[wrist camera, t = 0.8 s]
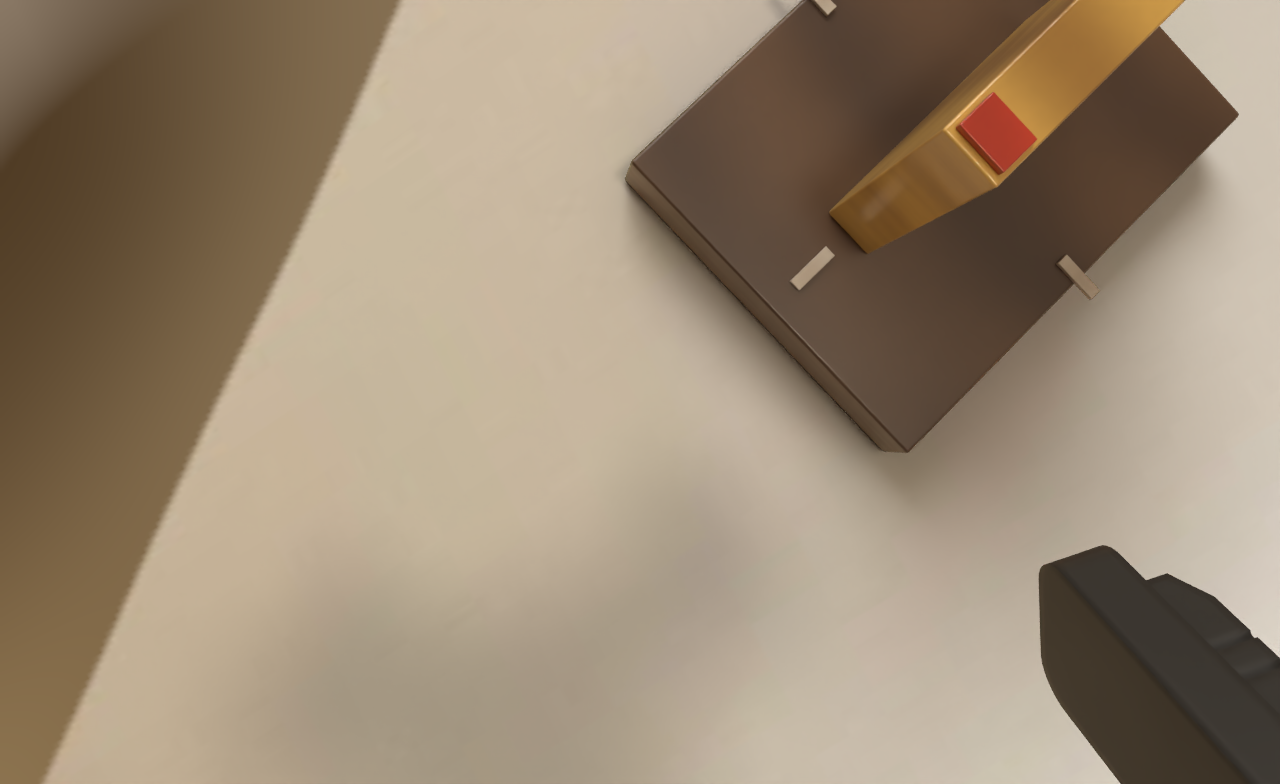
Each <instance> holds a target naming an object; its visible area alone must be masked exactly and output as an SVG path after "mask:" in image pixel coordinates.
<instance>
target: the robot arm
mask: <svg viewBox="0 0 1280 784" xmlns="http://www.w3.org/2000/svg"><path fill="white" fill-rule="evenodd" d="M1039 605H1040V639H1041V658H1042V664H1043V667H1044V671H1045V674H1046V677H1047V679H1048V682H1049V684H1050V687H1051V689H1052V691H1053V693H1054V695H1055V696H1056V698H1057V700H1058V701H1059V703H1060V705H1061V706H1062V708H1063V709H1064V710H1065V712H1066V713H1067V714H1068V716H1069V717H1070V718H1071V720H1072V721H1073V722H1074V723H1075V725H1076V726H1077V727H1078V729H1079V730H1080V731H1081V733H1082V734H1083V735H1084V736H1085V738H1086V739H1087V740H1088V742H1089V743H1090V744H1091V746H1092V747H1093V748H1094V750H1095V751H1096V752H1097V753H1098V755H1099V756H1100V757H1101V759H1102V760H1103V761H1104V763H1105V764H1106V765H1107V766H1108V768H1109V769H1110V770H1111V772H1112V773H1113V774H1114V776H1115V777H1116V778H1117V780H1118V781H1119V782H1120V783H1121V784H1280V658H1279V657H1278V656H1277V655H1276V654H1275V653H1274V652H1273V651H1272V650H1271V649H1270V648H1268V647H1267V646H1266V645H1265V644H1264V643H1263V642H1262V641H1261V640H1260V639H1259V638H1258V637H1257V638H1254V637H1253V636H1252V635H1251V632H1250V630H1249V629H1248V628H1247V627H1246V626H1245V625H1244V624H1243V623H1242V622H1241V621H1240V620H1239V619H1238V618H1236V617H1235V616H1234V615H1233V614H1232V613H1231V612H1230V611H1229V610H1228V609H1227V608H1226V607H1225V606H1224V605H1223V604H1222V603H1221V602H1219V601H1218V600H1217V599H1216V598H1215V597H1214V596H1212V595H1210V594H1208V593H1206V592H1204V591H1202V590H1199V589H1197V588H1195V587H1193V586H1191V585H1189V584H1187V583H1185V582H1183V581H1181V580H1179V579H1177V578H1175V577H1173V576H1171V575H1169V574H1164V575H1161V576H1158V577H1155V578H1152V579H1149V580H1145V579H1144V578H1143V577H1142V576H1141V575H1140V574H1139V573H1138V572H1137V571H1136V570H1135V569H1134V568H1133V567H1132V566H1131V565H1130V564H1129V563H1128V562H1127V561H1126V560H1125V559H1124V558H1123V557H1122V556H1121V555H1120V554H1119V553H1118V552H1117V551H1115V550H1114V549H1112V548H1111V547H1108V546H1104V545H1102V546H1098V547H1095V548H1092V549H1090V550H1087V551H1084V552H1081V553H1078V554H1075V555H1072V556H1069V557H1066V558H1063V559H1060V560H1057V561H1054V562H1051V563H1048V564H1046V565H1043V566H1042V567H1041V569H1040V572H1039Z"/></svg>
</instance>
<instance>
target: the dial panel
mask: <svg viewBox="0 0 1280 784" xmlns="http://www.w3.org/2000/svg"><path fill="white" fill-rule="evenodd" d="M1049 1H1050V0H802V1H801V2H800V3H799V4H798V5H797V6H796V7H795V8H794V9H793V10H791V11H790V12H789V13H788V14H787V15H786V16H785V17H784V18H783V19H782V20H781V21H780V22H779V23H778V24H777V25H776V26H774V27H773V28H772V29H771V30H770V31H769V32H768V33H767V34H766V35H765V36H764V37H763V38H762V39H761V40H760V41H758V42H757V43H756V44H755V45H754V46H753V47H752V48H751V49H750V50H749V51H748V52H747V53H746V54H745V55H744V56H743V57H741V58H740V59H739V60H738V61H737V62H736V63H735V64H734V65H733V66H732V67H731V68H730V69H729V70H728V71H727V72H725V73H724V74H723V75H722V76H721V77H720V78H719V79H718V80H717V81H716V82H715V83H714V84H713V85H712V86H711V87H710V88H708V89H707V90H706V91H705V92H704V93H703V94H702V95H701V96H700V97H699V98H698V99H697V100H696V101H695V102H694V103H692V104H691V105H690V106H689V107H688V108H687V109H686V110H685V111H684V112H683V113H682V114H681V115H680V116H679V117H678V118H677V119H675V120H674V121H673V122H672V123H671V124H670V125H669V126H668V127H667V128H666V129H665V130H664V131H663V132H662V133H661V134H659V135H658V136H657V137H656V138H655V139H654V140H653V141H652V142H651V143H650V144H649V145H648V146H647V147H646V148H645V149H644V150H642V151H641V152H640V153H639V154H638V155H637V156H636V157H635V158H634V159H633V160H632V162H631V164H630V167H629V169H628V172H627V174H626V177H625V180H626V182H627V183H628V184H629V185H630V186H631V187H632V188H633V189H634V190H635V191H636V192H637V193H638V194H639V195H640V196H641V197H642V198H643V199H644V201H645V202H646V203H647V204H648V205H649V206H650V207H651V208H652V209H653V210H654V211H655V212H656V213H657V214H658V215H659V216H660V217H661V218H662V219H663V221H664V222H665V223H666V224H667V225H668V226H669V227H670V228H671V229H672V230H673V231H674V232H675V233H676V234H677V235H678V236H679V237H680V238H681V239H682V240H683V242H684V243H685V244H686V245H687V246H688V247H689V248H690V249H691V250H692V251H693V252H694V253H695V254H696V255H697V256H698V257H699V258H700V259H701V260H702V262H703V263H704V264H705V265H706V266H707V267H708V268H709V269H710V270H711V271H712V272H713V273H714V274H715V275H716V276H717V277H718V278H719V279H720V280H721V281H722V283H723V284H724V285H725V286H726V287H727V288H728V289H729V290H730V291H731V292H732V293H733V294H734V295H735V296H736V297H737V298H738V299H739V300H740V301H741V303H742V304H743V305H744V306H745V307H746V308H747V309H748V310H749V311H750V312H751V313H752V314H753V315H754V316H755V317H756V318H757V319H758V320H759V321H760V322H761V324H762V325H763V326H764V327H765V328H766V329H767V330H768V331H769V332H770V333H771V334H772V335H773V336H774V337H775V338H776V339H777V340H778V341H779V342H780V344H781V345H782V346H783V347H784V348H785V349H786V350H787V351H788V352H789V353H790V354H791V355H792V356H793V357H794V358H795V359H796V360H797V361H798V362H799V363H800V365H801V366H802V367H803V368H804V369H805V370H806V371H807V372H808V373H809V374H810V375H811V376H812V377H813V378H814V379H815V380H816V381H817V382H818V383H819V385H820V386H821V387H822V388H823V389H824V390H825V391H826V392H827V393H828V394H829V395H830V396H831V397H832V398H833V399H834V400H835V401H836V402H837V403H838V405H839V406H840V407H841V408H842V409H843V410H844V411H845V412H846V413H847V414H848V415H849V416H850V417H851V418H852V419H853V420H854V421H855V422H856V423H857V424H858V426H859V427H860V428H861V429H862V430H863V431H864V432H865V433H866V434H867V435H868V436H869V437H870V438H871V439H872V440H873V441H874V442H875V443H876V444H877V446H878V447H879V448H880V449H881V450H882V451H885V452H902V453H907V452H909V451H910V450H911V449H912V448H913V447H914V446H915V445H916V444H917V443H918V442H919V441H920V440H921V439H922V438H923V437H924V436H925V435H926V434H927V433H928V432H929V431H930V430H931V429H932V428H933V427H934V426H935V425H936V424H937V423H938V422H939V421H940V420H941V419H942V418H943V417H944V416H945V415H946V414H947V413H948V412H949V411H950V410H951V409H952V408H953V407H954V406H955V405H956V404H957V402H958V401H959V400H960V399H961V398H962V397H963V396H964V395H965V394H966V393H967V392H968V391H969V390H970V389H971V388H972V387H973V386H974V385H975V384H976V383H977V382H978V381H979V380H980V379H981V378H982V377H983V376H984V375H985V374H986V373H987V372H988V371H989V370H990V369H991V368H992V367H993V366H994V365H995V364H996V363H997V362H998V361H999V360H1000V359H1001V358H1002V357H1003V356H1004V355H1005V354H1006V353H1007V352H1008V351H1009V350H1010V348H1011V347H1012V346H1013V345H1014V344H1015V343H1016V342H1017V341H1018V340H1019V339H1020V338H1021V337H1022V336H1023V335H1024V334H1025V333H1026V332H1027V331H1028V330H1029V329H1030V328H1031V327H1032V326H1033V325H1034V324H1035V323H1036V322H1037V321H1038V320H1039V319H1040V318H1041V317H1042V316H1043V315H1044V314H1045V313H1046V312H1047V311H1048V310H1049V309H1050V308H1051V307H1052V306H1053V305H1054V304H1055V303H1056V302H1057V301H1058V300H1059V299H1060V298H1061V297H1062V296H1063V295H1064V293H1065V292H1066V291H1067V290H1068V289H1069V288H1070V287H1071V286H1072V285H1073V284H1075V285H1076V286H1077V287H1078V288H1079V289H1080V290H1081V291H1082V293H1083V294H1084V295H1085V296H1086V297H1087V298H1088V299H1089V300H1090V299H1092V298H1093V297H1094V296H1095V295H1096V294H1097V293H1098V292H1099V291H1100V290H1099V289H1098V288H1097V286H1096V285H1095V284H1094V283H1093V282H1092V281H1091V280H1090V279H1089V278H1088V277H1087V276H1086V275H1085V274H1084V273H1085V272H1086V271H1087V270H1088V269H1089V268H1090V267H1091V266H1092V265H1093V264H1094V263H1095V262H1096V261H1097V260H1098V259H1099V258H1100V257H1101V256H1102V255H1103V254H1104V253H1105V252H1106V251H1107V250H1108V249H1109V248H1110V247H1111V246H1112V245H1113V244H1114V243H1115V242H1116V241H1117V239H1118V238H1119V237H1120V236H1121V235H1122V234H1123V233H1124V232H1125V231H1126V230H1127V229H1128V228H1129V227H1130V226H1131V225H1132V224H1133V223H1134V222H1135V221H1136V220H1137V219H1138V218H1139V217H1140V216H1141V215H1142V214H1143V213H1144V212H1145V211H1146V210H1147V209H1148V208H1149V207H1150V206H1151V205H1152V204H1153V203H1154V202H1155V201H1156V200H1157V199H1158V198H1159V197H1160V196H1161V195H1162V194H1163V193H1164V192H1165V191H1166V190H1167V189H1168V188H1169V187H1170V185H1171V184H1172V183H1173V182H1174V181H1175V180H1176V179H1177V178H1178V177H1179V176H1180V175H1181V174H1182V173H1183V172H1184V171H1185V170H1186V169H1187V168H1188V167H1189V166H1190V165H1191V164H1192V163H1193V162H1194V161H1195V160H1196V159H1197V158H1198V157H1199V156H1200V155H1201V154H1202V153H1203V152H1204V151H1205V150H1206V149H1207V148H1208V147H1209V146H1210V145H1211V144H1212V143H1213V142H1214V141H1215V140H1216V139H1217V138H1218V137H1219V136H1220V135H1221V134H1222V133H1223V132H1224V130H1225V129H1226V128H1227V127H1228V126H1229V125H1230V124H1231V123H1232V122H1233V121H1234V120H1235V119H1236V118H1237V117H1238V115H1239V114H1238V112H1237V111H1236V110H1235V109H1234V108H1233V107H1232V106H1231V104H1230V103H1229V102H1228V101H1227V100H1226V99H1225V98H1224V97H1223V96H1222V95H1221V93H1220V92H1219V91H1218V90H1217V89H1216V88H1215V87H1214V86H1213V85H1212V84H1211V82H1210V81H1209V80H1208V79H1207V78H1206V77H1205V76H1204V75H1203V74H1202V73H1201V71H1200V70H1199V69H1198V68H1197V67H1196V66H1195V65H1194V64H1193V63H1192V62H1191V60H1190V59H1189V58H1188V57H1187V56H1186V55H1185V54H1184V53H1183V52H1182V51H1181V49H1180V48H1179V47H1178V46H1177V45H1176V44H1175V43H1174V42H1173V41H1172V40H1171V38H1170V37H1169V36H1168V35H1167V34H1166V33H1165V32H1164V31H1163V30H1162V29H1161V27H1160V26H1159V27H1158V28H1157V29H1156V30H1155V31H1154V32H1153V33H1152V34H1151V35H1150V36H1149V37H1148V38H1147V39H1146V40H1145V41H1144V42H1143V43H1142V44H1141V45H1140V46H1139V47H1138V48H1137V49H1136V50H1135V51H1134V52H1133V53H1132V54H1131V55H1130V56H1129V57H1128V58H1127V59H1126V60H1125V61H1124V62H1123V63H1122V64H1121V65H1120V66H1119V67H1118V68H1117V69H1116V70H1115V71H1114V72H1113V73H1112V74H1111V75H1110V76H1109V77H1108V78H1107V79H1106V80H1105V81H1104V82H1103V83H1102V84H1101V85H1100V86H1099V87H1098V88H1097V89H1096V90H1095V91H1094V92H1093V93H1092V94H1091V95H1090V96H1089V97H1088V98H1087V99H1086V100H1085V101H1083V102H1082V103H1081V104H1080V105H1079V106H1078V107H1077V108H1076V109H1075V110H1074V111H1073V112H1072V113H1071V114H1070V115H1069V116H1068V117H1067V118H1066V119H1065V120H1064V121H1063V122H1062V123H1061V124H1060V125H1059V126H1058V127H1057V128H1056V129H1055V130H1054V131H1053V132H1052V133H1051V134H1050V135H1049V136H1048V137H1047V138H1046V139H1045V140H1044V141H1043V142H1042V143H1041V144H1040V145H1039V146H1038V147H1037V148H1036V149H1035V150H1034V151H1033V152H1032V153H1031V154H1030V155H1029V156H1028V157H1027V158H1026V159H1025V160H1024V161H1023V162H1022V163H1021V164H1020V165H1019V166H1018V167H1017V168H1016V169H1015V170H1014V171H1013V172H1012V173H1011V174H1010V175H1009V176H1008V177H1007V178H1006V179H1005V180H1004V181H1003V182H1002V183H1001V184H1000V185H999V186H998V187H996V188H994V189H992V190H990V191H988V192H986V193H985V194H983V195H981V196H979V197H977V198H975V199H973V200H971V201H969V202H967V203H965V204H963V205H961V206H960V207H958V208H956V209H954V210H952V211H950V212H948V213H946V214H944V215H942V216H940V217H938V218H936V219H934V220H933V221H931V222H929V223H927V224H925V225H923V226H921V227H919V228H917V229H915V230H913V231H911V232H909V233H908V234H906V235H904V236H902V237H900V238H898V239H896V240H894V241H892V242H890V243H888V244H886V245H884V246H882V247H881V248H879V249H877V250H875V251H873V252H871V253H869V254H867V253H866V252H865V251H864V250H863V249H862V248H861V247H860V246H859V245H858V244H857V243H856V241H855V240H854V239H853V238H852V237H851V236H850V235H849V234H848V233H847V232H846V231H845V230H844V229H843V228H842V227H841V226H840V224H839V223H838V222H837V221H836V220H835V219H834V218H833V217H832V216H831V215H830V213H829V211H830V210H831V209H832V208H833V207H834V206H835V205H836V204H837V203H838V202H839V201H840V200H841V199H842V198H843V197H844V196H845V195H846V194H847V193H848V192H850V191H851V190H852V189H853V188H854V187H855V186H856V185H857V184H858V183H859V182H860V181H861V180H862V179H863V178H864V177H865V176H866V175H867V174H868V173H869V172H870V171H871V170H872V169H873V168H874V167H875V166H876V165H877V164H878V163H879V162H880V161H881V160H882V159H883V158H884V157H885V156H887V155H888V154H889V153H890V152H891V151H892V150H893V149H894V148H895V147H896V146H897V145H898V144H899V143H900V142H901V141H902V140H903V139H904V138H905V137H906V136H907V135H908V134H909V133H910V132H911V131H912V130H913V129H914V128H915V127H916V126H917V125H918V124H919V123H920V122H921V121H922V120H924V119H925V118H926V117H927V116H928V115H929V114H930V113H931V112H932V111H933V110H934V109H935V108H936V107H937V106H938V105H939V104H940V103H941V102H942V101H943V100H944V99H945V98H946V97H947V96H948V95H949V94H950V93H951V92H952V91H953V90H954V89H955V88H956V87H957V86H958V85H959V84H961V83H962V82H963V81H964V80H965V79H966V78H967V77H968V76H969V75H970V74H971V73H972V72H973V71H974V70H975V69H976V68H977V67H978V66H979V65H980V64H981V63H982V62H983V61H984V60H985V59H986V58H987V57H988V56H989V55H990V54H991V53H992V52H993V51H994V50H995V49H996V48H998V47H999V46H1000V45H1001V44H1002V43H1003V42H1004V41H1005V40H1006V39H1007V38H1008V37H1009V36H1010V35H1011V34H1012V33H1013V32H1014V31H1015V30H1016V29H1017V28H1018V27H1019V26H1020V25H1021V24H1022V23H1023V22H1024V21H1025V20H1027V19H1028V18H1029V17H1030V16H1032V15H1033V14H1034V13H1035V12H1036V11H1038V10H1039V9H1040V8H1041V7H1042V6H1044V5H1045V4H1046V3H1047V2H1049Z"/></svg>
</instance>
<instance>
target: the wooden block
mask: <svg viewBox="0 0 1280 784" xmlns="http://www.w3.org/2000/svg"><path fill="white" fill-rule="evenodd" d="M1184 1H1185V0H1050V1H1049V2H1047V3H1046V4H1045V5H1044V6H1042V7H1041V8H1040V9H1039V10H1038V11H1036V12H1035V13H1034V14H1033V15H1032V16H1030V17H1029V18H1028V19H1027V20H1025V21H1024V22H1023V23H1022V24H1021V25H1020V26H1019V27H1018V28H1017V29H1016V30H1015V31H1014V32H1013V33H1012V34H1011V35H1010V36H1009V37H1008V38H1007V39H1006V40H1005V41H1004V42H1003V43H1002V44H1001V45H1000V46H999V47H998V48H996V49H995V50H994V51H993V52H992V53H991V54H990V55H989V56H988V57H987V58H986V59H985V60H984V61H983V62H982V63H981V64H980V65H979V66H978V67H977V68H976V69H975V70H974V71H973V72H972V73H971V74H970V75H969V76H968V77H967V78H966V79H965V80H964V81H963V82H962V83H961V84H959V85H958V86H957V87H956V88H955V89H954V90H953V91H952V92H951V93H950V94H949V95H948V96H947V97H946V98H945V99H944V100H943V101H942V102H941V103H940V104H939V105H938V106H937V107H936V108H935V109H934V110H933V111H932V112H931V113H930V114H929V115H928V116H927V117H926V118H925V119H924V120H922V121H921V122H920V123H919V124H918V125H917V126H916V127H915V128H914V129H913V130H912V131H911V132H910V133H909V134H908V135H907V136H906V137H905V138H904V139H903V140H902V141H901V142H900V143H899V144H898V145H897V146H896V147H895V148H894V149H893V150H892V151H891V152H890V153H889V154H888V155H887V156H885V157H884V158H883V159H882V160H881V161H880V162H879V163H878V164H877V165H876V166H875V167H874V168H873V169H872V170H871V171H870V172H869V173H868V174H867V175H866V176H865V177H864V178H863V179H862V180H861V181H860V182H859V183H858V184H857V185H856V186H855V187H854V188H853V189H852V190H851V191H850V192H848V193H847V194H846V195H845V196H844V197H843V198H842V199H841V200H840V201H839V202H838V203H837V204H836V205H835V206H834V207H833V208H832V209H831V210H830V211H829V213H830V215H831V216H832V217H833V218H834V219H835V220H836V221H837V222H838V223H839V224H840V226H841V227H842V228H843V229H844V230H845V231H846V232H847V233H848V234H849V235H850V236H851V237H852V238H853V239H854V240H855V241H856V243H857V244H858V245H859V246H860V247H861V248H862V249H863V250H864V251H865V252H866V253H867V254H869V253H871V252H873V251H875V250H877V249H879V248H881V247H882V246H884V245H886V244H888V243H890V242H892V241H894V240H896V239H898V238H900V237H902V236H904V235H906V234H908V233H909V232H911V231H913V230H915V229H917V228H919V227H921V226H923V225H925V224H927V223H929V222H931V221H933V220H934V219H936V218H938V217H940V216H942V215H944V214H946V213H948V212H950V211H952V210H954V209H956V208H958V207H960V206H961V205H963V204H965V203H967V202H969V201H971V200H973V199H975V198H977V197H979V196H981V195H983V194H985V193H986V192H988V191H990V190H992V189H994V188H996V187H998V186H999V185H1000V184H1001V183H1002V182H1003V181H1004V180H1005V179H1006V178H1007V177H1008V176H1009V175H1010V174H1011V173H1012V172H1013V171H1014V170H1015V169H1016V168H1017V167H1018V166H1019V165H1020V164H1021V163H1022V162H1023V161H1024V160H1025V159H1026V158H1027V157H1028V156H1029V155H1030V154H1031V153H1032V152H1033V151H1034V150H1035V149H1036V148H1037V147H1038V146H1039V145H1040V144H1041V143H1042V142H1043V141H1044V140H1045V139H1046V138H1047V137H1048V136H1049V135H1050V134H1051V133H1052V132H1053V131H1054V130H1055V129H1056V128H1057V127H1058V126H1059V125H1060V124H1061V123H1062V122H1063V121H1064V120H1065V119H1066V118H1067V117H1068V116H1069V115H1070V114H1071V113H1072V112H1073V111H1074V110H1075V109H1076V108H1077V107H1078V106H1079V105H1080V104H1081V103H1082V102H1083V101H1085V100H1086V99H1087V98H1088V97H1089V96H1090V95H1091V94H1092V93H1093V92H1094V91H1095V90H1096V89H1097V88H1098V87H1099V86H1100V85H1101V84H1102V83H1103V82H1104V81H1105V80H1106V79H1107V78H1108V77H1109V76H1110V75H1111V74H1112V73H1113V72H1114V71H1115V70H1116V69H1117V68H1118V67H1119V66H1120V65H1121V64H1122V63H1123V62H1124V61H1125V60H1126V59H1127V58H1128V57H1129V56H1130V55H1131V54H1132V53H1133V52H1134V51H1135V50H1136V49H1137V48H1138V47H1139V46H1140V45H1141V44H1142V43H1143V42H1144V41H1145V40H1146V39H1147V38H1148V37H1149V36H1150V35H1151V34H1152V33H1153V32H1154V31H1155V30H1156V29H1157V28H1158V27H1159V26H1160V25H1161V24H1162V23H1163V22H1164V21H1165V20H1166V19H1167V18H1168V17H1169V16H1170V15H1171V14H1172V13H1173V12H1174V11H1175V10H1176V9H1177V8H1178V7H1179V6H1180V5H1181V4H1182V3H1183V2H1184Z"/></svg>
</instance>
